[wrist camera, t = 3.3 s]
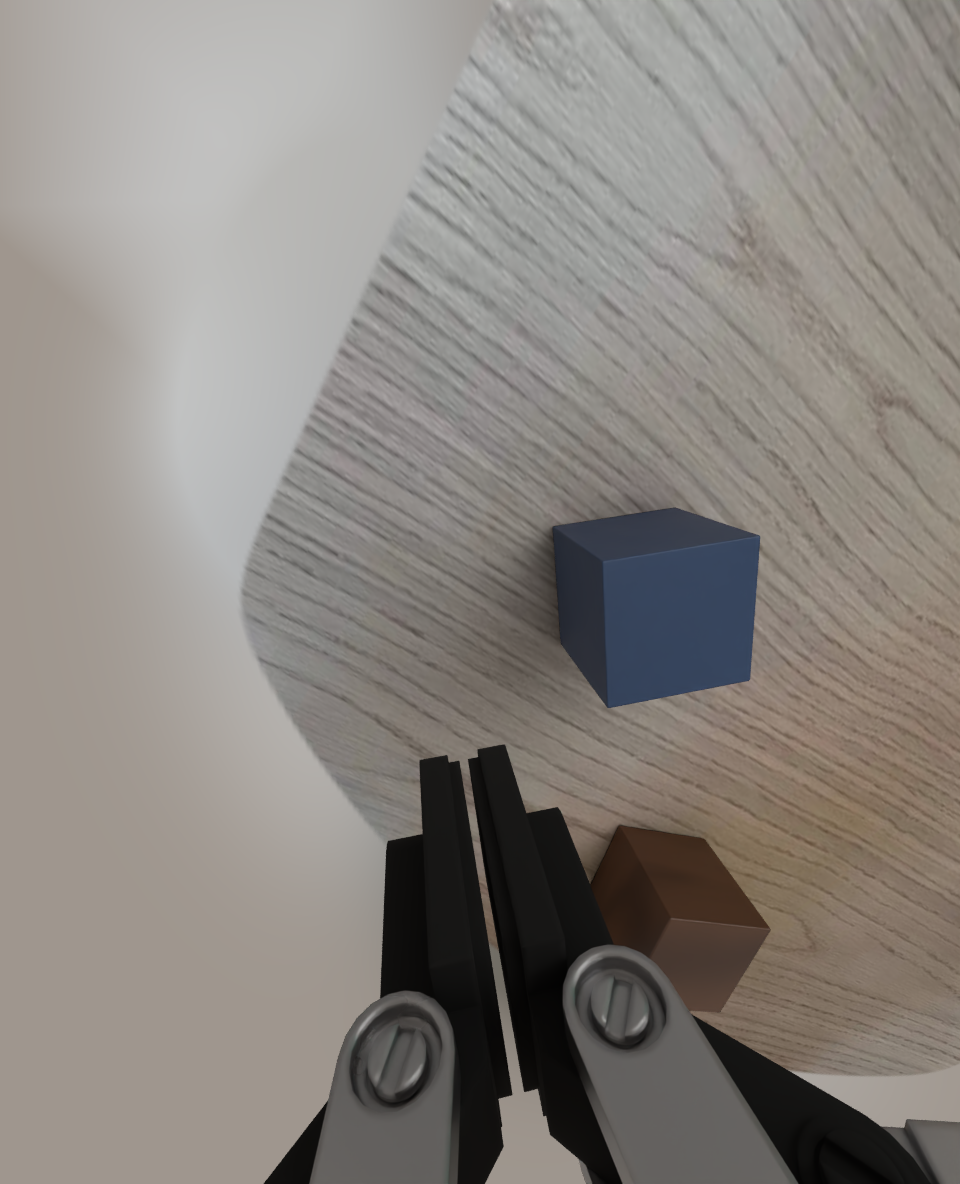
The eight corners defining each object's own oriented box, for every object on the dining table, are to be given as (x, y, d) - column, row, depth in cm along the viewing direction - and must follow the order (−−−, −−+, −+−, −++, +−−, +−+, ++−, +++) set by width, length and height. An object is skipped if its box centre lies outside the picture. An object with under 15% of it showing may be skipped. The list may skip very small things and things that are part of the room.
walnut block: (665, 911, 28) (720, 1013, 23) (581, 902, 26) (622, 1007, 22) (704, 838, 26) (772, 929, 22) (619, 824, 25) (670, 918, 20)
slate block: (560, 644, 21) (607, 708, 17) (552, 525, 20) (601, 561, 15) (674, 623, 22) (750, 681, 17) (676, 507, 20) (761, 535, 16)
